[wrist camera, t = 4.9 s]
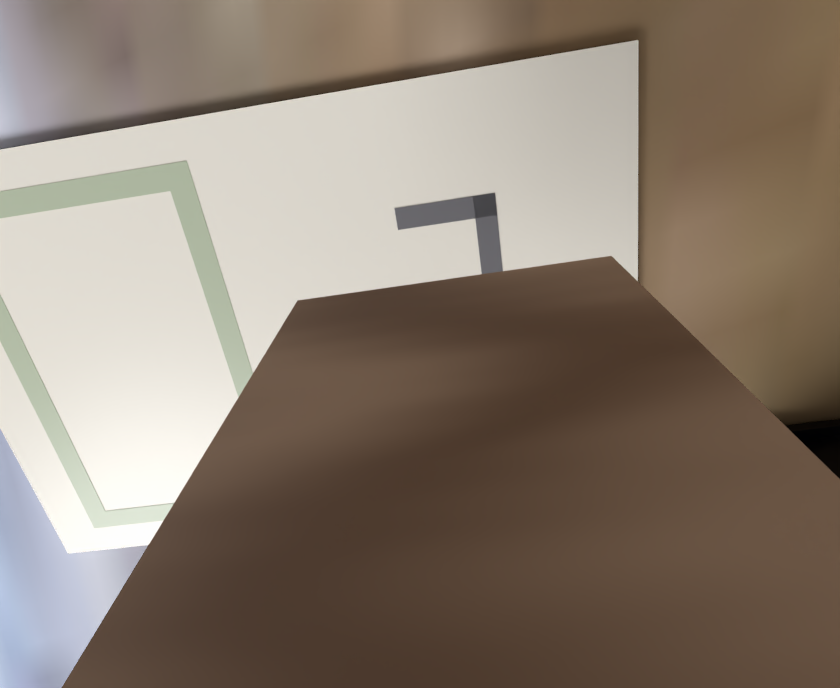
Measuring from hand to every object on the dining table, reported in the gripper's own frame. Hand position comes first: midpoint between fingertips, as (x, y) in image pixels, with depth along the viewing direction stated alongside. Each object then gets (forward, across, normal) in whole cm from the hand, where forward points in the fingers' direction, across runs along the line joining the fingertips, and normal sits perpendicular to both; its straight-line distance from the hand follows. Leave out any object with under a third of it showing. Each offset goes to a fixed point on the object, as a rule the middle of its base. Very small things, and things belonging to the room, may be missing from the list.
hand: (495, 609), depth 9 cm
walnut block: (+2, 0, 0) cm, 2 cm away
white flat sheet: (+12, +6, 0) cm, 13 cm away
